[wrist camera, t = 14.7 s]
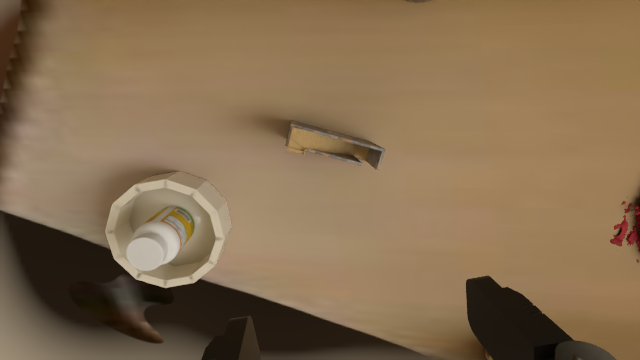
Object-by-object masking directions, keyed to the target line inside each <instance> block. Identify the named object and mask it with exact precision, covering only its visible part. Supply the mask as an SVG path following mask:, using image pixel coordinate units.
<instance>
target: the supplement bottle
mask: <svg viewBox="0 0 640 360" xmlns="http://www.w3.org/2000/svg"><path fill="white" fill-rule="evenodd" d="M194 230H195V221H194V218H193V216H192V215H191V214H190V212H189V211H187V210H186V209H184V208H182V207H179V206H169V207H166V208H163V209H162V210H160V211H159V212H158V213H157V214H155V215H154V216H153V217H151V218H150V219H149V220H148V221H146V222H145V223H144V224H142V225H141V226H140V227H139V228H138V229H137V230H136V231H135V232H134V234H133V237H132V241H131V242H130V243H129V245H128V247H127V249H126V256H127V259H128V261H129V263H130V264H131V265H132V266H133V267H135V268H136V269H139V270H142V271H150V270H153V269H156V268H157V267H159V266H160V265H163V264H166V263H168V262H170V261H171V260H173V259H174V258H175V256H176V255H177V254H178V253H179V251H180V250H181V249H182V248H183V246H184V245H185V244H186V243H187V241H188V240H189V239H190V238H191V236H192V235H193V233H194Z"/></svg>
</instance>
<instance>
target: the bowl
mask: <svg viewBox="0 0 640 360" xmlns="http://www.w3.org/2000/svg"><path fill="white" fill-rule="evenodd" d="M169 206H179V207H182V208H184V209H186V210H187V211H189V212H190V214H191V215H192V216H193V218H194V221H195V230H194V233H193V235H192V236H191V238H190V239H189V240H188V241H187V243H186V244H185V245H184V246H183V248H182V249H181V250H180V251H179V253H178V254H177V255H176V256H175V258H174V259H173V260H171V261H170V262H168V263H166V264H163V265H160V266H159V267H157V268H156V269H153V270H150V271H142V270H139V269H136V268H135V267H133V266H132V265H131V264H130V263H129V261H128V259H127V256H126V249H127V247H128V245H129V243H130V242H131V241H132V237H133V234H134V232H135V231H136V230H137V229H138V228H139V227H140V226H141V225H142V224H144V223H145V222H146V221H148V220H149V219H150V218H151V217H153V216H154V215H155V214H157V213H158V212H159V211H160V210H162V209H163V208H166V207H169ZM231 226H232V224H231V220H230V216H229V212H228V207H227V203H226V200H225V199H224V198H223V197H222V196H221V195H220V194H219V193H218V192H217V191H216V189H215V188H214V187H213V186H212V185H211V184H210V183H209V182H208V181H207V180H204V179H202V178H199V177H196V176H193V175H190V174H187V173H184V172H181V171H177V172H171V173H166V174H160V175H154V176H151V177H149V178H147V179H145V180H143V181H141V182H139V183H137V184H135V185H133V186H132V187H131V188H130V189H129V190H128V191H127V192H125V193H124V194H123V195H122V196H121V197H120V198H119V199H117V200H116V201H115V202H114V203H113V204H112V207H111V211H110V214H109V218H108V222H107V226H106V229H105V233H106V236H107V239H108V242H109V245H110V248H111V251H112V254H113V257H114V259H115V260H116V261H117V262H118V263H119V264H120V265H121V266H122V267H123V268H124V269H126V270H127V271H128V272H129V273H130V274H131V275H132V276H133V277H134V278H135V279H136V280H140V281H144V282H147V283H150V284H154V285H157V286H161V287H164V288H167V287H173V286H178V285H184V284H189V283H194V282H196V281H197V280H198V279H199V278H201V277H202V276H203V275H204V274H205V273H207V272H208V271H209V270H210V269H212V268H213V267H214V266H215V265H216V264H217V262H218V260H219V258H220V256H221V254H222V252H223V250H224V247H225V244H226V241H227V238H228V235H229V232H230V229H231Z"/></svg>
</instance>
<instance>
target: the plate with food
mask: <svg viewBox="0 0 640 360" xmlns="http://www.w3.org/2000/svg"><path fill="white" fill-rule="evenodd" d="M627 197H628V196H627ZM639 200H640V199H639ZM625 203H626V202H625V201H624V202H623V203H622V204H625ZM622 204H621V205H622ZM630 205H632V203H630V204H629V206H630ZM629 206H628V209H624V210H625V213H627V212H629V211H630V210H629V209H630V208H629ZM635 209H636V210H637V211H636V212H634V214H636V215H637V216H635V218H636V219H637V222H636V223H635V225H637V227H638V231H636V226H635V227H634V229H633V231H630V232H629V233H630V234H627V237H629V238H628V239H627V238H626V240H627V242H629V243H628V244H630V246H631V244H632V245H633V243H634V240H636V241H637V242H636V244H637V247H639V251H640V239H639V238H638V237H639V236H640V205H639V207H638V206H636V207H635ZM632 211H633V210H632ZM623 217H624V220H623V222H622V223H621V224H617V225H615V226H614V230H615V229H618V228H619V227H622V232H621V233H620V235H619V236H616V235H613V236H614V239H611V240H610V242H611V243H612V244H616V245H618V246H622V241H623V239H624V238H625V237H623V236H625V235H626V234H624V233H627V232H626V231H627V230H628V229H627V228H628V222H626V219H625V218H626V216H625V215H624V216H623ZM627 220H628V219H627ZM637 232H638V234H637ZM628 235H629V236H628ZM638 235H639V236H638ZM628 244H627V245H628ZM637 262H639V260H637Z"/></svg>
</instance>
